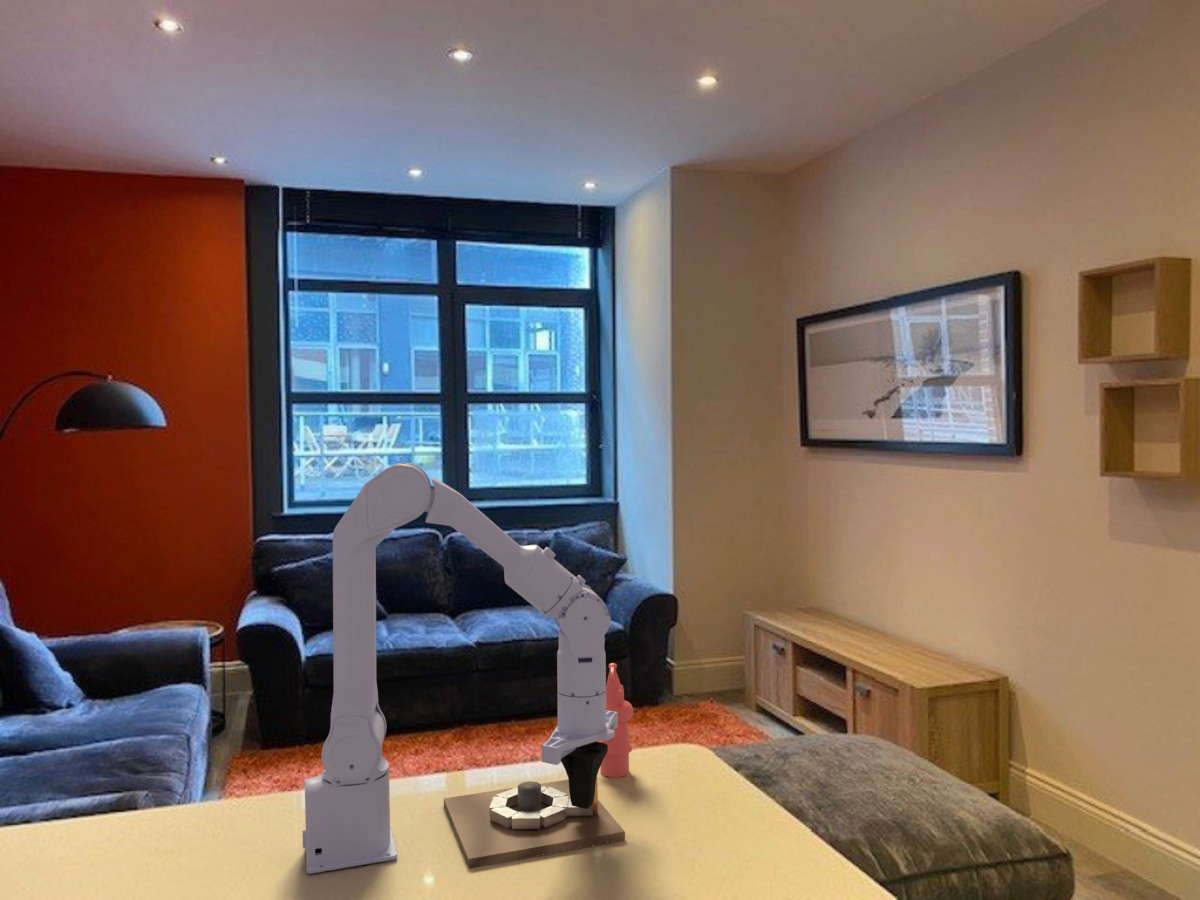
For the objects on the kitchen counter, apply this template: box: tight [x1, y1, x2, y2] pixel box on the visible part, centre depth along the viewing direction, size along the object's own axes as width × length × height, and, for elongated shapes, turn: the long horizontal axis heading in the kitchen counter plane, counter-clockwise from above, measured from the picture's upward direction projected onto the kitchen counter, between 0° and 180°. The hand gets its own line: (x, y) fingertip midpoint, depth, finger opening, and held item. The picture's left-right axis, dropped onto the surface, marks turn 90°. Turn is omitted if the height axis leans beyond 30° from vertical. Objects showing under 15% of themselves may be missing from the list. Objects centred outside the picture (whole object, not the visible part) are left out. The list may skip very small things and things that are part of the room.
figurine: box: [600, 662, 634, 778], centre depth 120 cm, size 5×5×15 cm
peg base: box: [443, 779, 626, 869], centre depth 105 cm, size 18×17×5 cm
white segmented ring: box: [490, 776, 599, 829], centre depth 105 cm, size 13×9×4 cm
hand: (582, 805), depth 103 cm, fingers closed
